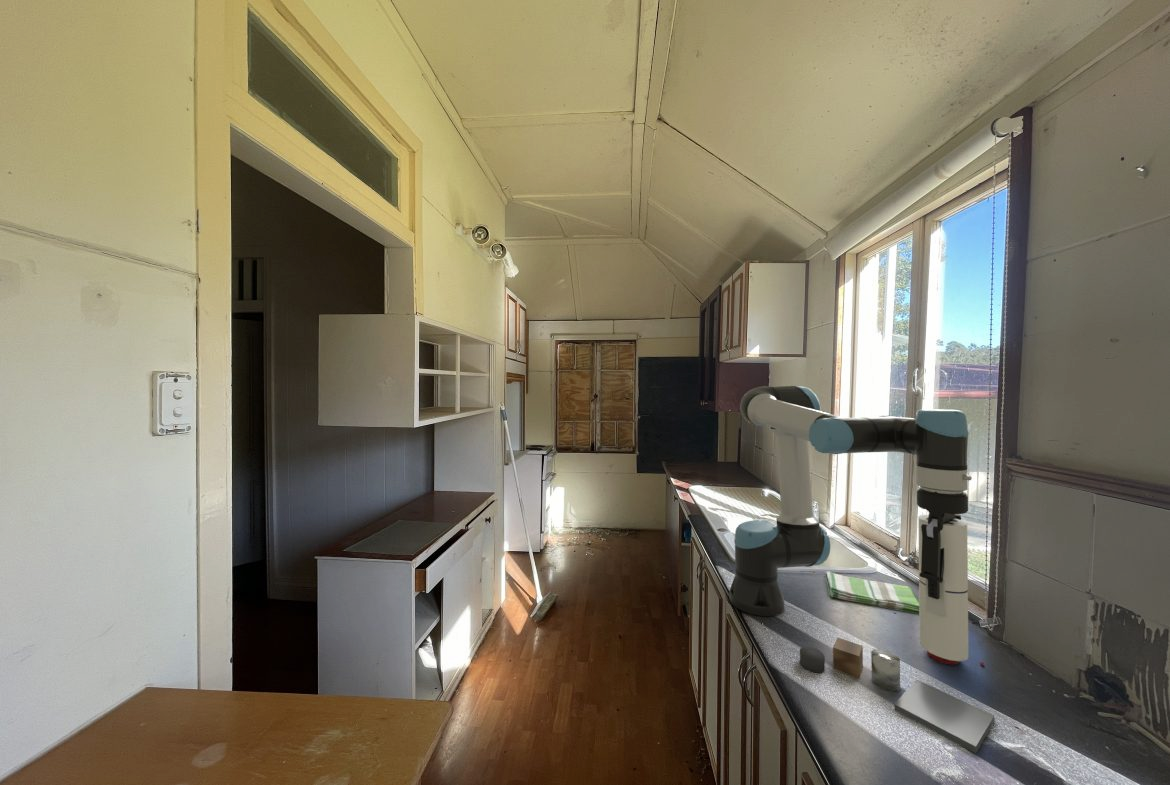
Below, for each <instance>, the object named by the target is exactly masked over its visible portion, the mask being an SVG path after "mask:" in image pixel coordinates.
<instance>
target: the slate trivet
mask: <svg viewBox="0 0 1170 785" xmlns="http://www.w3.org/2000/svg"><path fill="white" fill-rule="evenodd" d="M893 708H894V711H896V712H897V713H900V714H901V715H903V716H905V717H907V718H909V719H910V720H912V721H915V722H916V723H918V724H920V725H922V726H924V727H926V728H927V729H929V730H931V731H932V732H935V733H937V734H939V735H941V736H942V737H944V738H946V739H948V740H949V741H952V742H954V743H955V744H957V745H959V746H960V747H961V746H962V747H963V748H965V749H967V750H968V751H970V752H973V753H975V754H977V752H978V751H979V749H980V747H981V746H982V744H983V742H984V741H985V739H986V737H987V735H988V734H989V732H990V731H991V729H992V727H993V725H994V724H995V717H996V716H995V714H992V713H990V712H988V711H986V710H983V709H982V708H980V707H977V706H975V705H972V704H971V703H969V702H967V701H964V700H962V699H960V698H958V697H955V696H954V695H951V694H949V693H947V692H945V691H943V690H940V689H939V688H936V687H934V686H932V685H930V684H928V683H925V682H923V681H921V680H919V679H916V680H915V681H914V682H913V683H912V684H911V686H909V688H907V689H906V690H905V692H904V693H903V694H902V695H901V696H900V697H899V698H898V700H896V702H894V707H893Z"/></svg>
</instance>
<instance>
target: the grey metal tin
mask: <svg viewBox="0 0 1170 785" xmlns="http://www.w3.org/2000/svg"><path fill="white" fill-rule="evenodd" d="M870 652H871V653H870V654H871V655H870V658H871V666H870V668H871V673H870V674H871V682H872V683H873V685H874V686H876V688H878V689H880V690H882V691H885V692H888V693H898V692H900V691H901V660H900V657H899V656H898V655H897V654H895V653H893V652H892V651H888V650H886V649H881V648H875V649H872V650H871V651H870Z"/></svg>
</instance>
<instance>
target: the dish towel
mask: <svg viewBox="0 0 1170 785" xmlns="http://www.w3.org/2000/svg"><path fill="white" fill-rule="evenodd" d="M824 575H825V582H826V586H827V590H828V595H829V597H830V598H831V599H832V598H833V599H839V600H842V601H843V600H844V601H847V602H852V603H853V602H854V603H858V604H863V605H867V606H868V605H869V606H875V607H881V608H885V609H890V610H894V611H895V610H896V611H902V612H906V613H912V614H917V615H919V600H918V599H917V598H916V597H915V594H914V592H913V590H912V588H911V587H909V586H907V585H899V584H896V583H895V584H893V583H889V582H882V581H877V580H876V581H875V580H869V579H865V578H860V577H859V578H858V577H852V576H845V575H843V574H837V573H834V571H833V572H832V571H830V570H828V571H825V574H824Z"/></svg>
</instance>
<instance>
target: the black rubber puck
mask: <svg viewBox="0 0 1170 785" xmlns="http://www.w3.org/2000/svg"><path fill="white" fill-rule="evenodd" d="M825 657H826V656H825V654H824V652H822V651H821V650H819V649H817V648H814V647H811V646H803V647H801V648H800V649H799V665H800V667H801V666H802V669H804V670H805V671H807V672H809V673H812V674H823V673H825V669H826V665H825V664H826V663H825V662H826V661H825V660H826V659H825Z"/></svg>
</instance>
